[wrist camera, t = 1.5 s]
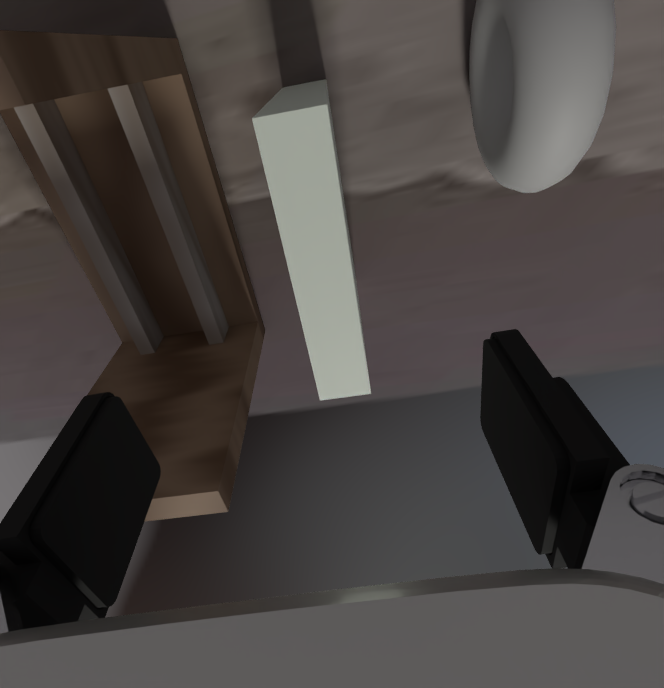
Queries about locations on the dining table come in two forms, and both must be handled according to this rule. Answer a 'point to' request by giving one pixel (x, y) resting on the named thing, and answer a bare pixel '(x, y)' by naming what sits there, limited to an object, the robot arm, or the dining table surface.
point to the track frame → (145, 243)
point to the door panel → (315, 233)
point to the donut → (539, 85)
